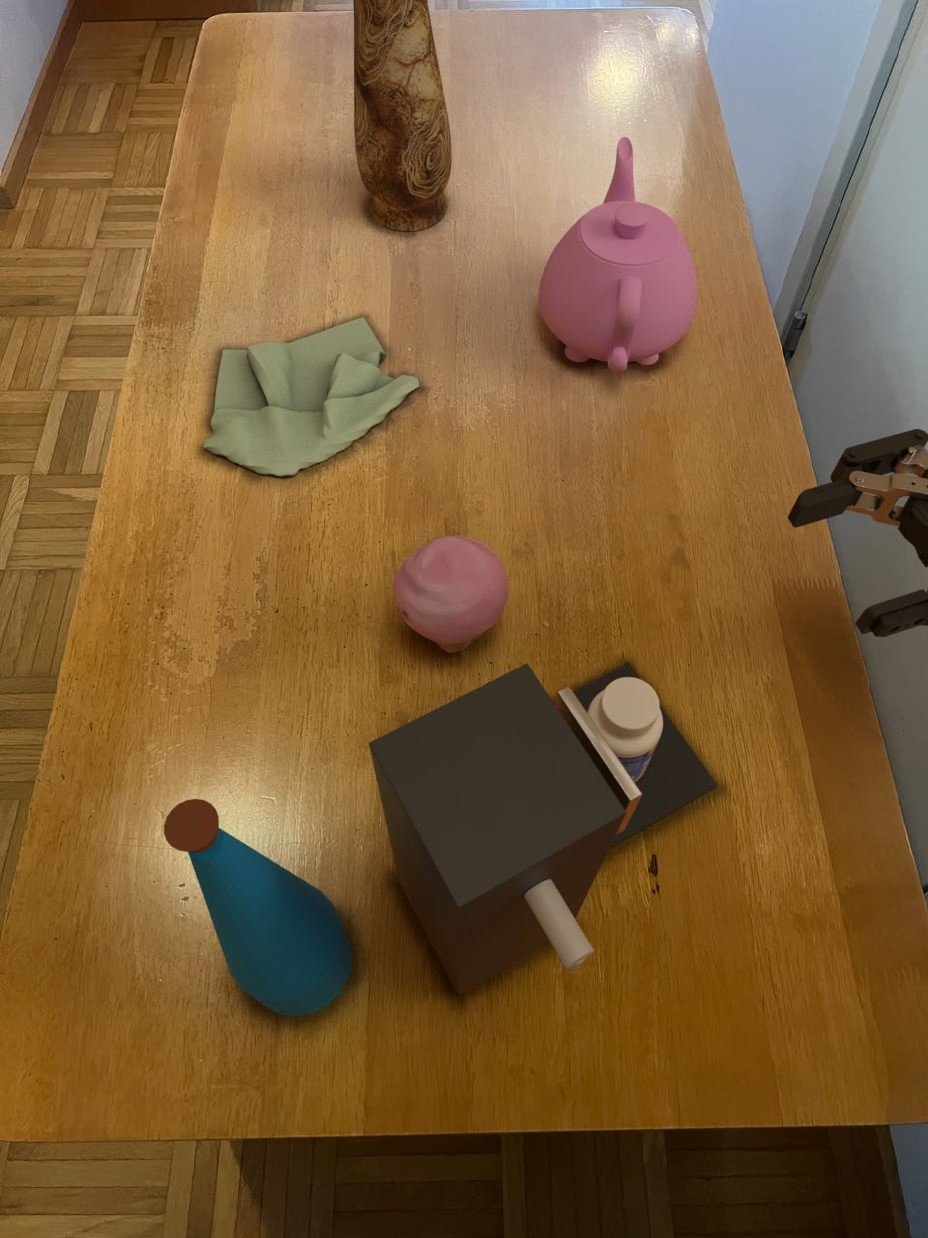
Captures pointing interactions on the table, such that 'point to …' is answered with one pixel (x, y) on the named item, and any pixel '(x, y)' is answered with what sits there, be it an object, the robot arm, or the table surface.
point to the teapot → (619, 279)
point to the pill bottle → (629, 722)
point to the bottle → (264, 917)
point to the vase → (400, 114)
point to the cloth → (302, 399)
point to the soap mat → (657, 767)
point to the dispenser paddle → (599, 752)
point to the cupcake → (451, 591)
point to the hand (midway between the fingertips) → (827, 566)
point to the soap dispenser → (495, 826)
